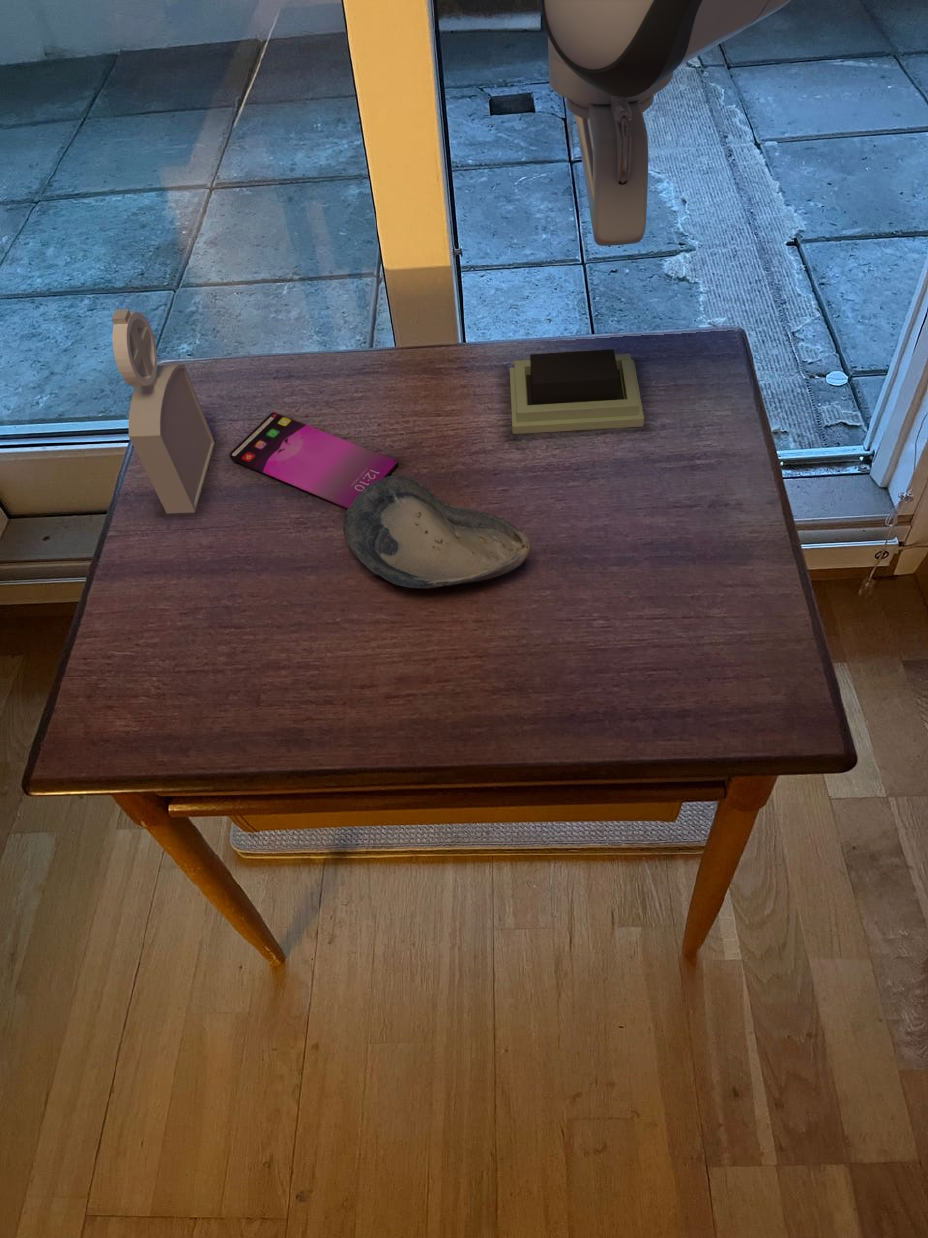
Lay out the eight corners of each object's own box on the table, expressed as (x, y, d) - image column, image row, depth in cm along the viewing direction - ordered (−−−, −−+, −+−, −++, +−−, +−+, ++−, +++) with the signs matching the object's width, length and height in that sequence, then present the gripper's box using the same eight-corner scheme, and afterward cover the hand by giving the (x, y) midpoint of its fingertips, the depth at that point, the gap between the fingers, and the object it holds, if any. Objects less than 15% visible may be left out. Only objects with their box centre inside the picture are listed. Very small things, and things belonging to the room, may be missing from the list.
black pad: (612, 373, 90) (614, 348, 87) (617, 403, 87) (618, 377, 85) (530, 379, 90) (530, 353, 88) (532, 408, 88) (532, 383, 85)
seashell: (515, 492, 83) (513, 451, 79) (535, 600, 75) (534, 560, 71) (347, 513, 83) (337, 473, 79) (350, 623, 75) (339, 584, 71)
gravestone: (215, 442, 90) (150, 279, 76) (195, 512, 84) (121, 350, 70) (188, 443, 90) (118, 280, 76) (166, 513, 85) (87, 351, 70)
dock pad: (633, 367, 92) (634, 349, 90) (643, 426, 87) (645, 408, 85) (509, 375, 93) (509, 357, 91) (512, 434, 87) (511, 416, 86)
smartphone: (276, 417, 91) (273, 410, 91) (400, 463, 86) (399, 456, 85) (229, 462, 88) (227, 455, 87) (356, 514, 82) (354, 507, 82)
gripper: (677, 115, 58) (660, 306, 69) (640, -8, 70) (630, 170, 81) (577, 125, 58) (575, 313, 69) (557, 0, 71) (559, 177, 82)
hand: (605, 235), depth 75 cm, fingers closed
